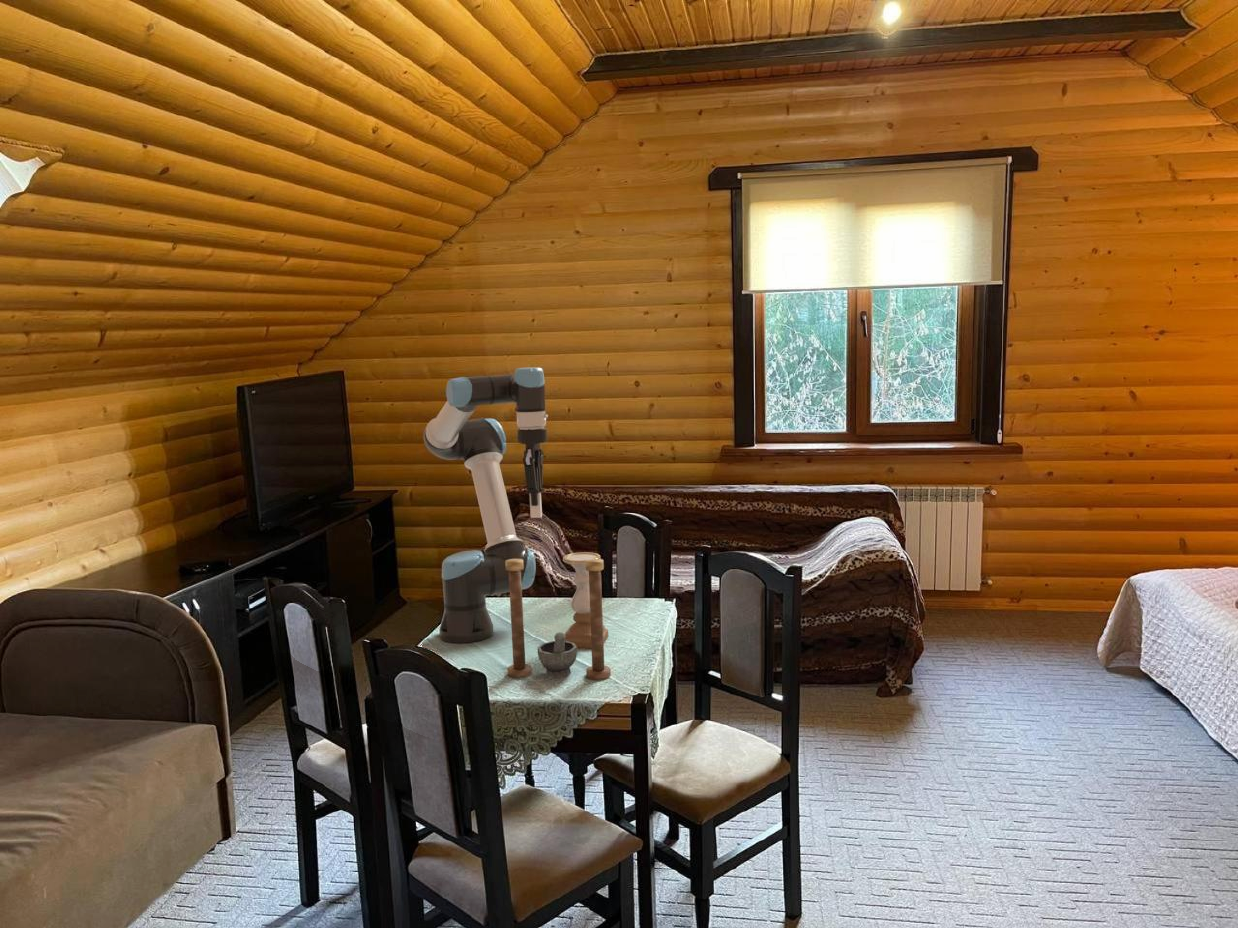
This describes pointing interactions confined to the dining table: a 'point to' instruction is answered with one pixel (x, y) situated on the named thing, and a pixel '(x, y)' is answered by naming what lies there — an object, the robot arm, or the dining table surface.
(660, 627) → the dining table surface
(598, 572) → the right candlestick
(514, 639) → the left candlestick
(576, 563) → the candle holder
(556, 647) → the mortar and pestle
